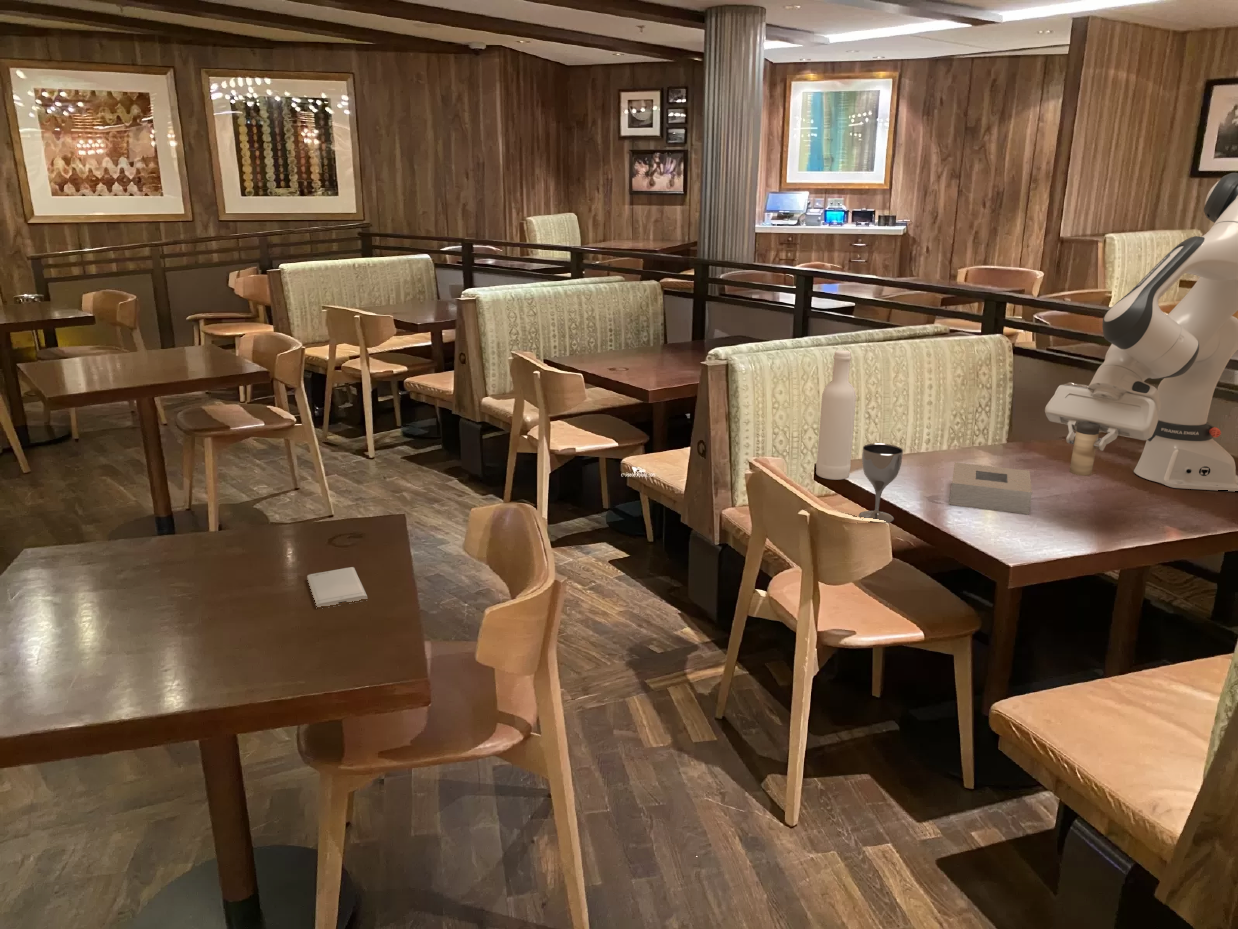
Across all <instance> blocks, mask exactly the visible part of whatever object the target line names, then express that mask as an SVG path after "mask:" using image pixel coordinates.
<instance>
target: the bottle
mask: <svg viewBox="0 0 1238 929" xmlns="http://www.w3.org/2000/svg"><path fill="white" fill-rule="evenodd" d="M851 353H852V352H851V351H850V350H846V349H844V350H843V349H837V350H836V351H834V355H833V368H832V370H833V371H832V380H831V381H830V382H829V383H828V384H826V385H825V386H824V389H823V391H822V395H821V403H820V405H821V406H820V417H819V429H818V430H819V431H818V440H817V442H818V444H817V456H816V462H815V463H816V464H815V468H816V469H815V470H816V471H815V473H816V475H817V476H818V477H820V478H823V479H826V480H833V481H834V480H835V481H836V480H838V481H839V480H846V479H848V478H849V476H850V472H851V464H852V463H851V461H852V460H851V459H852V448H853V438H854V426H855V417H856V416H855V415H856V403H857V394H856V389H855V388H854V386H853V385H852V384H851V382H850V381H849V376H850V365H851V359H852V357H851V356H852V354H851Z"/></svg>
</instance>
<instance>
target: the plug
mask: <svg viewBox="0 0 1238 929" xmlns="http://www.w3.org/2000/svg"><path fill="white" fill-rule="evenodd" d="M1099 429H1100V425H1098V424H1095V423H1090V422H1079V423H1078V424H1077V429H1076V430H1075V433H1076V435H1075V441H1074V444H1073V448H1072V452H1071V453H1072V454H1071V460H1070V466H1069V473H1071V474H1072V475H1076V476H1084V477H1088V476H1091V475H1092V474H1093V467H1094V462H1095V458H1096V457H1095V456H1096V451H1097V449H1095V447H1094V443H1095V442H1096V439H1097V438H1099V434H1100V431H1099Z"/></svg>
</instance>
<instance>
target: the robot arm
mask: <svg viewBox="0 0 1238 929" xmlns="http://www.w3.org/2000/svg"><path fill="white" fill-rule="evenodd" d="M1203 212H1204V215H1205V218H1207V219H1208V220H1209V221H1211V222H1213V223H1214V224H1213V225H1212V226H1211V227H1210V229H1209V230H1208V231H1207V232H1206V233H1205V234H1203V235H1202V236H1198V235H1194V236H1191V237H1189V238H1187V239H1185V240H1183V241H1182V242H1180V243H1179V244H1177V245H1176V246H1175V247H1174V248H1173V249H1172V250H1170V251H1169V252H1168V253H1167V254H1166V255H1165V256H1164V257H1163V258H1162V259H1161V260H1160V261H1158V263H1157V264H1156V265H1155V266H1154V267H1152V269H1150V271H1149V272H1148V273H1147V274H1146V275H1145V276H1144V277H1143V278H1142V279H1140V281H1139V282H1138V283H1137V284H1136V285H1135V286H1134V287H1133V288H1132V289H1131V290H1130V291H1129V292H1128V293H1127V294H1125V295H1124V296H1123V297H1121V299H1119V300H1118V301H1117V302H1116V303H1114V304H1113V305H1112V306H1111V307H1110V308H1109V309H1108V310H1107V312H1106V313H1105V314H1104V316H1103V319H1102V328H1101V329H1102V333H1103V334H1102V335H1103V338H1104V339H1105V340H1106V341H1107V342H1109V343H1110V346H1109V347H1108V350H1107V351H1106V353H1105V356H1104V357H1105V358H1104V361H1103V362H1102V363H1101V365H1100V366H1099V367H1098V368H1097V370H1096V371H1095V374H1094V375H1093V377H1092V379H1091V381H1090V383H1089V384H1081V383H1076V382H1072V381H1071V382H1070V381H1069V382H1067V383H1063V384H1060V385H1059V386H1058V387H1057V388H1056V390H1055V392H1054V395H1053V396H1052V397H1051V398H1050V400H1049V401H1048V402H1047V404H1046V406H1045V408H1044V412H1045V416H1046V418H1047V420H1048V421H1049V422H1052V423H1055V424H1056V423H1057V424H1062V425H1066V426H1067V427H1068V434H1067V436H1066V439H1065V440H1066V443H1067V444H1071V445H1074V441H1075V435H1076V432H1074V431H1076V429H1077V424H1078V423H1079V422H1090V423H1095V424H1098V425H1100V429H1099V433H1106V434H1105V435H1104V436H1103V437H1101V438H1100V437H1098V438H1097V439H1096V442H1095V443H1094V447H1095V449H1096V450H1097V451H1101V452H1102V451H1104V450H1105V448H1106V446H1107V445H1108V444H1110V443H1112V442H1113V441H1115V440H1117V438H1118V436H1121V437H1126V438H1129V439H1130V438H1131V439H1134V440H1140V441H1145V444H1144V448H1143V450H1142V453H1141V455H1140V458H1139V460H1138V462H1137V464H1136V466H1135V468H1134V469H1133V473H1134V474H1136V475H1137V476H1139V477H1140V478H1143V479H1146V480H1149V481H1152V482H1156V483H1159V484H1162V485H1165V486H1167V487H1170V488H1173V489H1187V490H1188V489H1189V490H1190V489H1191V490H1205V491H1206V490H1207V491H1218V490H1228V491H1227V492H1235V491H1238V475H1237V474H1236V469H1237V468H1236V462H1235V458H1234V457H1233V456H1232V455H1231V454H1230V453H1229V452H1228V451H1227V450H1226V449H1225V448H1224V447H1222V445H1220V444H1219V443H1218V442H1217V441H1216V440H1215V439H1213V438H1219V436H1221V435H1222V431H1221V430H1220V429H1219V428H1218V427H1216V426H1214V425H1213V424H1211V423H1209V422H1208V416H1209V414H1210V409H1211V404H1212V401H1213V400H1212V399H1213V396H1214V392H1215V389H1216V387H1217V385H1218V382H1219V380H1220V379H1221V376H1222V374H1223V372H1224V371H1225V368H1226V366H1227V365H1228V363H1229V361H1230V359H1231V358H1232V357H1233V355H1234V354H1235V353H1236V352H1237V351H1238V318H1237V317H1236V316H1233V315H1235V314H1236V313H1237V312H1238V172H1231V173H1228V174H1226V175H1224V176H1222V177H1221V178H1220V179H1219V180H1218V181H1217V182H1216V183H1215V184H1213V186H1212V187H1211V188H1210V190H1209V191H1208V193H1207V195H1206V197H1205V201H1204V207H1203ZM1185 274H1189V275H1193V276H1197V277H1199V278H1198V279H1197V281H1196V282H1195V283H1194V285H1193V286H1192V287H1191V289H1189V291H1188V292H1187V293H1186V294H1185V296H1183V298H1182V299H1180V301H1179V302H1178V303H1177V304H1176V305H1175V306H1174V308H1172V309H1171V311H1169V313H1168V314H1167V313H1165V312H1163V310H1162V309H1161V308H1160V306H1159V300H1160V299H1161V298H1162V297H1163V296H1164V295H1165V294H1166V293H1167V291H1169V289H1171V288H1172V287H1173V285H1174V284H1175V283H1176V282H1177V281H1178V280H1180V278H1181V277H1182V276H1183V275H1185ZM1148 379H1151V380H1160V379H1162V380H1161V381H1160V382H1159V383H1158V386H1157V388H1156V387H1155V386H1154V385H1151V384H1149V383H1147V382H1145V381H1146V380H1148Z"/></svg>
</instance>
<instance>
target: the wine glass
mask: <svg viewBox="0 0 1238 929" xmlns="http://www.w3.org/2000/svg"><path fill="white" fill-rule="evenodd" d="M903 454H904V450H903V448H902V447H900V446H897V445H894V444H889V443H877V442H876V443H868V444H865V445H863V447H862V454H861V455H862V458H861V459H862V461H861V462H862V469H863V470H862V471H863V473H864V475H865V477H866V478H867V480H868V482H870V484H871V485H872V487H873V489H874V492H875V493H874V494H875V503H874V504H875V505H874V510H865V511H862V512H860V513H859V514H858V517H859V518H860V517H864V518H873V519H879V520H884V521H886V522H888V523H891V522H893V521H894V520H895V518H894V516H893V515H892V514H889V513H887V512H884V511H880V502H881V497H882V493H883V491H884V489H886V487H887V486H888V485H890V483H892V482H893V481H894V480H895V479H896V478H897V476H898V474H899V472H900V469H901V466H902V461H903Z"/></svg>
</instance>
